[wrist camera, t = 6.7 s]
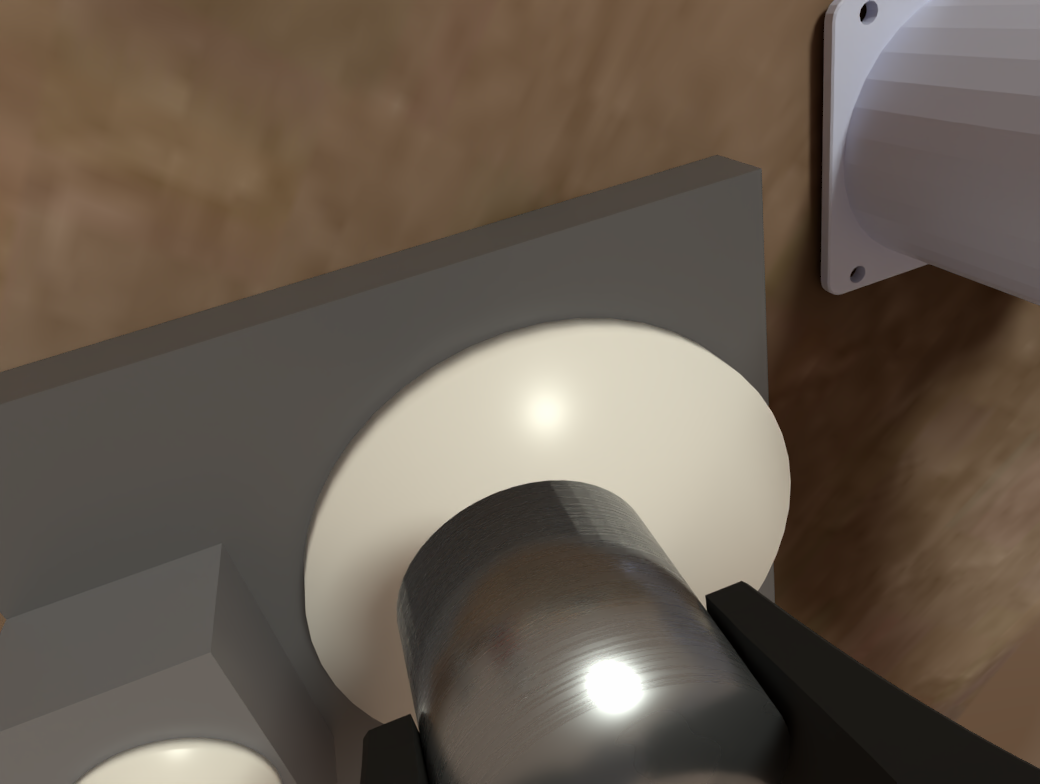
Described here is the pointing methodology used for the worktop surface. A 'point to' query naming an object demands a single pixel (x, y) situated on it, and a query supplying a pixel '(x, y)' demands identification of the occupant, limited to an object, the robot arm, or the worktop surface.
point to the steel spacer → (573, 653)
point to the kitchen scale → (365, 474)
